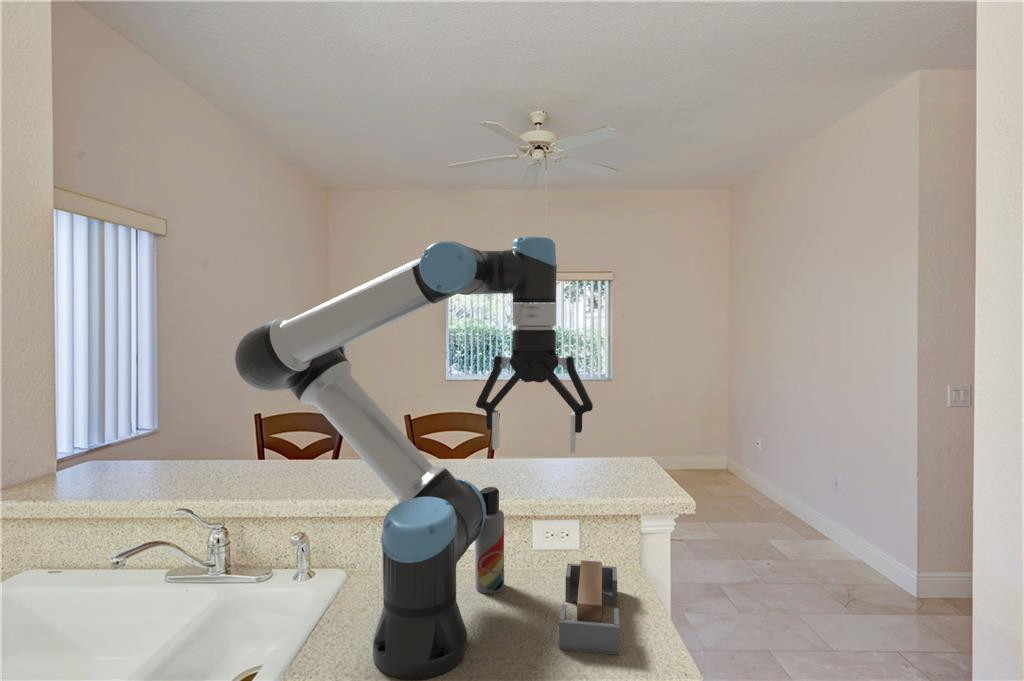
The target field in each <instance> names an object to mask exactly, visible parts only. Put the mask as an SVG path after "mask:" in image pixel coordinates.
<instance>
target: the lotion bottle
mask: <svg viewBox="0 0 1024 681" xmlns="http://www.w3.org/2000/svg"><path fill="white" fill-rule="evenodd" d="M479 491H480V493H481V494H482V496H483V498H484V501H485V505H486V519H485V523H484V525H483V527H482V530H481V532H480V534H479V536H478V538H477V539H476V540H475V541H474V544H475V546H474V547H475V549H474V550H475V551H474V553H475V555H474V556H475V558H474V559H475V561H474V562H475V565H474V566H475V572H474V573H475V578H474V579H475V589H476V590H477V591H478V592H480V593H482V594H490V595H493V594H497V593H500V592H501V591H502V590H503V589H504V586H505V513H504V511H503V510H502V509H500V490H499V489H498V488H497V487H495V486H487V487H485V488H483V489H481V490H479Z"/></svg>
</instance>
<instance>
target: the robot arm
mask: <svg viewBox="0 0 1024 681" xmlns="http://www.w3.org/2000/svg"><path fill="white" fill-rule="evenodd" d="M510 248H511V249H507V250H480V249H476V248H472V247H469V246H467V245H464V244H462V243H460V242H457V241H445V240H444V241H438V242H435V243H433V244H431V245H429V246H428V247H427V248H426V249H425V250H424V252H423V253H422V255H421V256H420V257H418V258H417V259H414V260H412V261H410V262H407V263H405V264H404V265H402V266H399V267H397V268H395V269H392V270H390V271H389V272H387V273H385V274H383V275H380V276H378V277H376V278H375V279H372V280H370V281H367V282H366V283H363V284H362V285H360V286H357V287H355V288H353V289H351V290H349V291H347V292H345V293H343V294H340V295H339V296H336V297H334V298H332V299H330V300H328V301H325V302H323V303H321V304H320V305H318V306H315V307H313V308H312V309H309V310H307V311H304V312H303V313H300V314H299V315H297V316H294V317H292V318H289V317H284V316H282V317H278V318H275V319H273V320H272V321H270V322H268V323H265V324H263V325H261V326H258V327H256V328H255V329H252V330H250V331H249V332H247V333H246V334H245V335H244V336H243V337H242V338H241V340H240V341H239V343H238V344H237V347H236V350H235V354H234V362H235V366H236V370H237V372H238V374H239V375H240V378H241V379H242V380H244V382H246V384H248V385H249V386H251V387H253V388H255V389H258V390H261V391H265V392H277V391H282V390H287V389H289V390H290V392H292V394H293V395H294V396H295V397H296V399H298V401H299V402H300V403H301V404H302V405H314V406H315V407H316V409H317V410H319V412H320V413H322V415H323V416H324V417H325V419H327V421H328V422H329V423H330V424H331V426H333V427H334V429H335V430H337V432H338V433H339V434H340V436H342V438H344V440H345V441H346V442H347V443H348V444H349V445H350V447H352V449H353V450H354V451H355V452H356V454H358V456H359V457H361V459H362V460H363V461H364V462H365V463H366V465H367V466H368V467H369V468H370V469H371V470H372V472H373V473H374V474H375V475H376V476H377V477H378V478H379V479H380V480H381V481H382V483H383V484H384V485H385V487H387V488H388V489H389V490H390V492H392V494H393V495H394V496H395V497H396V499H397V504H396V505H394V506H392V508H390V509H389V511H387V512H386V514H385V516H384V518H383V521H382V522H383V523H382V532H381V535H380V536H381V537H380V538H381V539H380V540H381V541H380V542H381V548H382V550H381V551H382V583H383V584H382V590H383V592H382V593H383V594H382V595H383V599H382V600H383V608H382V609H381V614H380V617H379V620H378V623H377V626H376V630H375V633H374V636H373V641H372V658H373V659H372V660H373V663H374V664H375V666H376V668H378V669H379V670H380V671H381V672H382V673H384V674H386V675H388V676H390V677H392V678H397V679H403V680H422V679H423V680H424V679H429V678H434V677H437V676H440V675H442V674H445V673H447V672H449V671H450V670H452V669H454V668H455V667H456V666H458V665H459V664H460V663H461V662H462V661H463V659H464V658H465V657H466V654H467V650H468V631H467V628H466V625H465V621H464V619H463V617H462V616H463V615H462V614H461V610H460V607H459V605H458V602H457V565H458V562H459V561H460V560H461V559H462V557H463V556H464V554H465V553H466V552H467V551H468V549H469V548H470V546H471V545H472V544H473V543H475V540H476V539H477V538H478V536H479V534H480V532H481V530H482V527H483V525H484V523H485V519H486V505H485V501H484V498H483V496H482V494H481V493H480V491H481V490H479V488H477V486H475V484H473V483H472V482H470V481H468V480H465V479H459V478H456V477H455V476H454V475H453V474H452V473H451V472H450V471H449V470H448V469H447V468H446V467H445V466H434V465H432V464H431V462H430V461H429V460H428V459H427V458H426V457H425V455H424V454H423V453H422V452H420V450H419V449H418V448H417V447H416V446H415V445H414V444H413V443H412V441H411V440H410V439H409V438H408V437H407V436H406V434H404V432H403V431H402V430H401V429H400V428H399V427H398V426H397V425H396V424H395V423H394V422H393V421H392V419H391V418H390V417H389V416H388V415H387V414H386V412H384V411H383V409H382V408H381V407H380V405H378V404H377V403H376V402H375V401H374V399H373V398H372V397H371V396H370V395H369V394H368V393H367V391H365V389H364V388H362V387H363V386H361V385H360V384H359V383H358V382H357V381H356V380H355V378H354V377H353V376H352V374H351V371H352V364H351V362H350V361H349V360H348V359H347V358H346V356H347V355H346V354H345V351H346V348H345V345H347V344H349V343H351V342H354V341H355V340H358V339H360V338H362V337H365V336H367V335H369V334H371V333H374V332H376V331H377V330H380V329H382V328H384V327H387V326H389V325H391V324H394V323H395V322H398V321H399V320H402V319H404V318H406V317H408V316H411V315H413V314H415V313H417V312H419V311H421V310H424V309H426V308H428V307H430V306H432V305H434V304H437V303H440V302H442V301H445V300H447V299H450V298H451V297H454V296H456V295H464V296H465V295H466V296H469V295H470V296H471V295H492V294H493V295H494V294H497V295H498V294H499V295H500V294H501V295H502V294H504V295H509V294H512V326H514V327H515V329H513V331H512V354H511V356H510V357H509V356H503V355H502V354H498V355H496V356H495V357H494V360H493V368H492V370H491V372H490V374H489V376H488V379H487V381H486V383H485V384H484V386H483V389H482V390H481V393H480V394H479V397H477V398H478V399H477V400H476V403H475V406H476V408H478V409H481V410H484V411H485V412H486V420H485V421H486V429H487V430H489V431H490V430H491V433H492V434H491V435H492V436H491V437H492V438H491V446H492V447H491V448H492V450H494V451H495V450H498V449H499V447H500V410H499V409H496V407H497V406H498V405H499V404H500V403H501V402H502V400H503V399H504V398H505V397H506V396H507V395H508V394H509V392H510V391H511V390H512V388H514V387H515V386H516V384H517V383H518V382H519V381H522V382H524V383H531V382H535V383H545V382H546V381H548V383H549V384H550V386H552V387H553V388H554V389H555V391H556V392H557V393H558V394H559V396H561V398H562V399H563V400H564V401H565V402H566V404H567V405H568V406H569V407H570V409H571V410H572V411H573V412H571V413H570V432H569V433H570V436H569V437H570V438H569V440H570V441H569V442H570V445H569V447H570V448H569V450H570V451H569V452H570V454H575V453H576V444H577V443H576V440H577V439H576V436H577V435H576V434H579V433H582V431H583V414H584V413H587V412H591V411H593V407H594V405H593V402H592V400H591V398H590V397H589V394H588V392H587V390H586V388H585V386H584V384H583V382H582V380H581V377H580V375H579V373H578V372H577V369H576V365H575V364H576V363H575V357H574V356H572V355H569V356H567V357H558V355H557V331H555V330H556V329H554V328H553V327H555V326H557V299H556V298H557V271H558V270H557V268H558V263H557V256H556V253H557V250H556V243H555V242H554V240H553V239H551V238H548V237H544V236H543V237H542V236H525V237H518V238H517V237H516V238H515V239H513V241H512V246H511V247H510ZM508 365H510V367H511V368H512V370H513V371H514V374H512V375H511V377H510V378H509V379H508V381H506V383H505V384H504V386H503V387H502V388H501V389H500V390H499V391H498V393H496V395H495V396H494V397H493V398H492V399H491V401H490V402H489V401H488V399H489V396H490V395H491V393H492V391H493V389H494V387H495V385H496V383H497V381H498V379H499V377H500V374H501V372H502V370H504V369H506V367H507V366H508ZM559 365H560V366H561V367H562V369H563V370H565V371H567V373H568V377H569V378H570V380H571V382H572V383H573V386H574V388H575V390H576V392H577V394H578V396H579V398H580V400H581V402H582V404H580V403H579V401H578V400H577V399H576V398H575V397H574V396H573V394H572V393H571V392H570V391H569V390H568V388H567V387H566V385H564V383H563V382H562V381H561V380H560V378H559V377H558V376H557V375H556V373H555V372H554V371H555V370H556V368H557V367H558V366H559Z"/></svg>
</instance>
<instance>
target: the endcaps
mask: <svg viewBox="0 0 1024 681" xmlns="http://www.w3.org/2000/svg"><path fill="white" fill-rule="evenodd" d="M566 564H567V565H566V570H565V599H564V600H565V602H568V603H577V600H578V589H579V578H580V567H581V563H566ZM617 569H618V568H617V566H612V565H611V566H608V565H602V605H607V606H608V605H609V606H618V570H617ZM560 606H561V607H560V613H559V614H560V615H559V621H558V649H559V650H561V651H563V650H566V651H573V652H574V651H575V652H582V653H584V652H585V653H592V654H593V653H594V654H595V653H596V654H604V655H605V654H606V655H614V656H615V655H616V656H620V610H619V608H613V623H603V622H602V623H595V622H583V621H577V620H572V619H571V620H570V619H567V604H565V603H562V604H561V605H560Z"/></svg>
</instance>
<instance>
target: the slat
mask: <svg viewBox="0 0 1024 681" xmlns="http://www.w3.org/2000/svg"><path fill="white" fill-rule="evenodd" d="M580 564H581V567H580V578H579V589H578V600H577V602H576V621H583V622H595V623H603V622H602V619H603V617H602V615H603V614H602V611H603V610H602V609H603V607H602V606H603V604H602V566H603V561H595V560H593V561H592V560H582V559H581V560H580Z"/></svg>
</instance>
